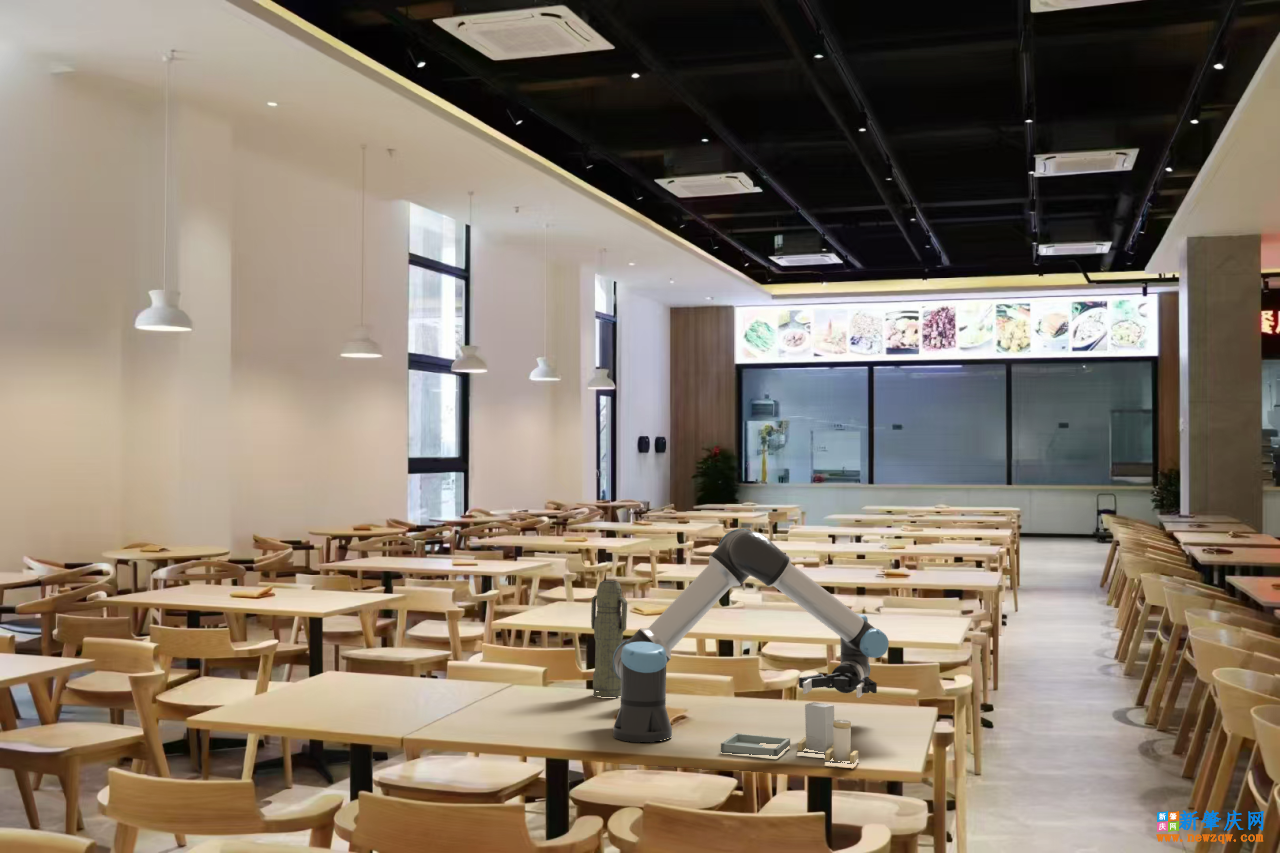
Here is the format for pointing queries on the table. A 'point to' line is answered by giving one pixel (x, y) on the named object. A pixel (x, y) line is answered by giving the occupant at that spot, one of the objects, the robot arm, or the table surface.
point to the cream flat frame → (827, 753)
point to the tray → (753, 745)
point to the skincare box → (819, 726)
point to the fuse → (841, 740)
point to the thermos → (607, 636)
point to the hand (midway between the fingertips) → (831, 690)
